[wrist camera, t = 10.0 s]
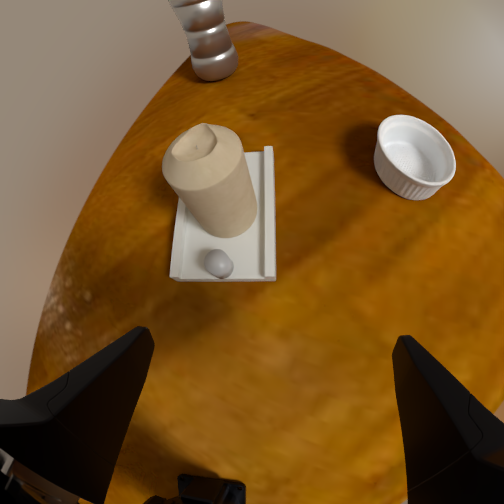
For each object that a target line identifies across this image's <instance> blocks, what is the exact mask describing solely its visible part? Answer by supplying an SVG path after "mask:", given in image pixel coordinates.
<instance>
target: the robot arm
mask: <svg viewBox="0 0 504 504" xmlns="http://www.w3.org/2000/svg"><path fill="white" fill-rule="evenodd" d="M154 346H155V345H154V341H153V338H152V336H151V333H150V331H149V329H148V328H147V327H142V326H137V327H135V328H134V329H132V330H131V331H129V332H128V333H126V334H125V335H123V336H122V337H120V338H119V339H117V340H116V341H114V342H113V343H111V344H110V345H108V346H107V347H105V348H104V349H102V350H100V351H99V352H97V353H96V354H94V355H93V356H91V357H90V358H88V359H87V360H85V361H84V362H82V363H81V364H79V365H78V366H76V367H75V368H73V369H72V370H70V372H67V373H65V374H64V375H62V376H61V377H59V378H58V379H56V380H54V381H53V382H51V383H49V384H47V385H46V386H44V387H42V388H40V389H38V390H36V391H35V392H33V393H31V394H29V395H27V396H25V397H23V398H21V399H17V400H4V399H0V504H79V503H78V500H79V498H82V499H84V500H87V501H89V502H91V503H93V504H104V501H105V497H106V494H107V491H108V487H109V484H110V481H111V478H112V474H113V471H114V468H115V464H116V461H117V458H118V455H119V452H120V449H121V446H122V443H123V440H124V438H125V435H126V432H127V429H128V426H129V423H130V421H131V418H132V415H133V412H134V410H135V407H136V404H137V402H138V399H139V396H140V394H141V391H142V388H143V386H144V383H145V380H146V377H147V373H148V369H149V366H150V362H151V358H152V355H153V351H154ZM392 360H393V370H394V381H395V392H396V399H397V405H398V410H399V416H400V423H401V429H402V437H403V444H404V453H405V463H406V475H407V490H408V492H407V494H408V504H504V423H503V422H502V421H500V420H499V419H498V418H497V417H496V416H494V415H493V414H492V413H491V412H490V411H489V410H488V409H487V408H485V407H484V406H483V405H482V404H481V403H480V402H479V401H478V400H477V399H476V398H475V397H474V396H473V395H472V394H470V392H469V391H468V390H467V389H466V388H465V387H464V386H463V385H462V384H461V383H460V382H459V381H458V380H457V379H456V378H455V377H454V376H453V375H452V374H451V373H450V372H449V371H448V370H447V369H446V368H445V367H444V366H443V365H442V364H441V363H440V362H439V361H438V360H436V359H435V358H434V357H433V356H432V355H431V354H430V353H429V352H428V351H427V350H426V349H425V348H424V347H423V346H422V345H420V344H419V343H418V342H417V341H416V340H415V339H414V338H413V337H412V336H410V335H402V336H399V337H398V339H397V342H396V345H395V347H394V350H393V353H392ZM181 477H183V478H184V479H185V480H184V479H182V478H181ZM177 479H178V489H179V497H174V498H171V499H168V500H167V499H166V498H162V497H159V496H156V495H155V496H152V497H150V498H149V499H148V500H147V501H145V502H144V503H143V504H246V486H245V484H243V483H237V482H228V481H222V480H218V479H211V478H205V477H200V476H191V475H186V474H180V475H179V476H178V478H177ZM238 487H242V489H240V488H238Z"/></svg>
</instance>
